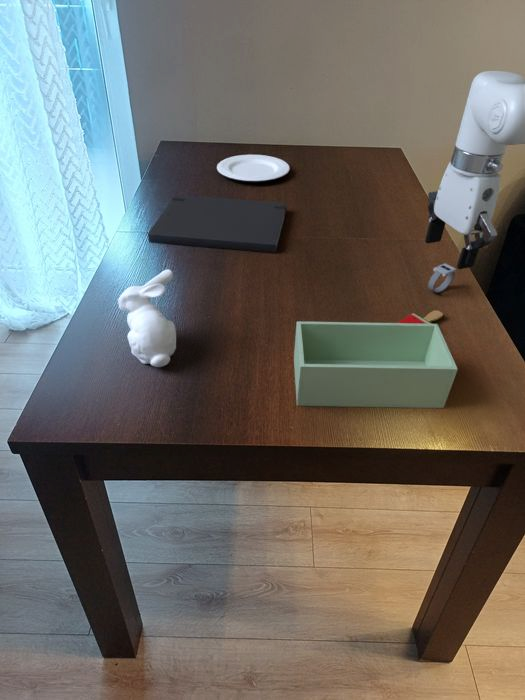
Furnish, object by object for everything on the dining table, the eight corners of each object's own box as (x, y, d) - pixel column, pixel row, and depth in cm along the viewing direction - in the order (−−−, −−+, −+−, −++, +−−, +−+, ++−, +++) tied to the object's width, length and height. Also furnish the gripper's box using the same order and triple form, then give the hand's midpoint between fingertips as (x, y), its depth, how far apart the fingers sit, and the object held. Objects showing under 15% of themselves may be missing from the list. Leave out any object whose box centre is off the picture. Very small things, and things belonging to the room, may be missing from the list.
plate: (203, 169, 143) (202, 162, 142) (261, 156, 153) (261, 149, 151) (244, 192, 130) (244, 185, 129) (304, 176, 140) (304, 170, 139)
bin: (425, 361, 79) (437, 323, 74) (443, 408, 71) (458, 369, 66) (293, 359, 79) (296, 321, 74) (296, 405, 71) (300, 366, 66)
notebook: (148, 242, 108) (275, 253, 105) (147, 233, 107) (276, 244, 104) (176, 202, 125) (286, 211, 122) (175, 193, 123) (287, 202, 120)
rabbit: (121, 336, 83) (107, 274, 75) (174, 321, 86) (167, 260, 78) (141, 380, 74) (129, 316, 67) (200, 362, 78) (194, 299, 70)
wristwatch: (433, 299, 93) (440, 276, 90) (422, 292, 95) (428, 269, 91) (454, 289, 96) (461, 266, 93) (442, 282, 97) (449, 260, 94)
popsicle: (451, 315, 86) (395, 348, 79) (449, 322, 87) (394, 355, 80) (430, 303, 89) (374, 334, 82) (428, 310, 90) (373, 341, 83)
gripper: (533, 176, 74) (496, 274, 85) (461, 140, 86) (437, 230, 98) (493, 182, 72) (460, 281, 83) (425, 144, 84) (404, 235, 96)
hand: (447, 254), depth 90 cm, fingers open, 9 cm apart
